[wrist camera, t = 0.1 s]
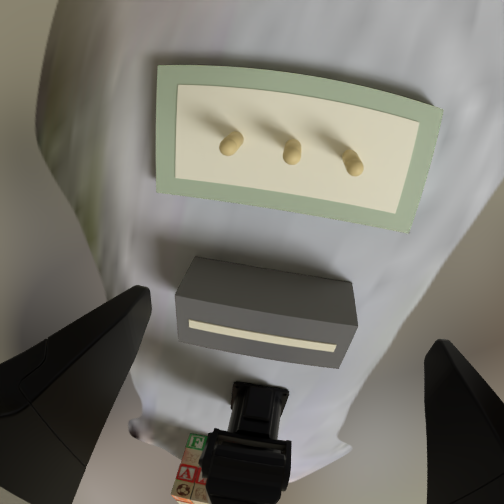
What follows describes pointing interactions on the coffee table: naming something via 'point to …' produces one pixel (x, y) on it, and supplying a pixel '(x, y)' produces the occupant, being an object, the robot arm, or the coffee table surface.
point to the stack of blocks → (191, 474)
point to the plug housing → (266, 313)
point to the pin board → (293, 143)
